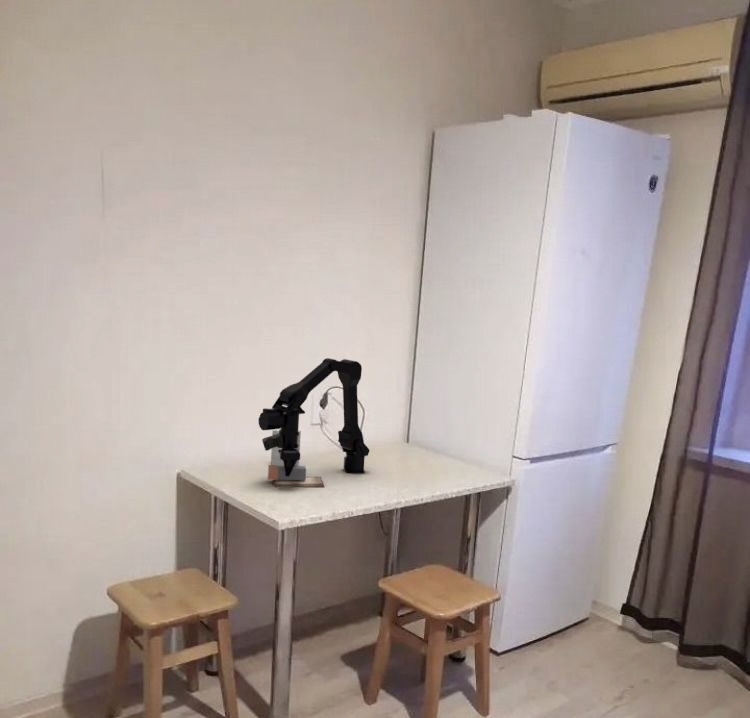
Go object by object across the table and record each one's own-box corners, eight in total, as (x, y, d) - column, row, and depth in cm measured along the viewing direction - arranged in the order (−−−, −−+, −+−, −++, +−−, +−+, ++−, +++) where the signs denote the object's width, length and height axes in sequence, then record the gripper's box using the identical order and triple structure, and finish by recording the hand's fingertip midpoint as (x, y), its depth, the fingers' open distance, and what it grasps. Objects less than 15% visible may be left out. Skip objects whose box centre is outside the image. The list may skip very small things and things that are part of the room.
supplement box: (285, 468, 249) (286, 433, 248) (270, 464, 254) (271, 429, 252) (299, 465, 255) (301, 430, 254) (284, 461, 259) (286, 427, 258)
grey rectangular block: (304, 476, 236) (305, 465, 236) (305, 480, 232) (306, 468, 232) (267, 476, 234) (268, 465, 233) (268, 479, 230) (268, 468, 229)
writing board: (320, 477, 241) (320, 475, 241) (324, 487, 230) (324, 485, 230) (272, 477, 238) (272, 475, 238) (274, 487, 227) (274, 484, 227)
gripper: (263, 421, 239) (261, 466, 240) (265, 433, 220) (263, 482, 222) (296, 422, 241) (294, 467, 243) (301, 434, 223) (298, 482, 224)
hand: (287, 474), depth 233 cm, fingers closed on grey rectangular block, 4 cm apart
